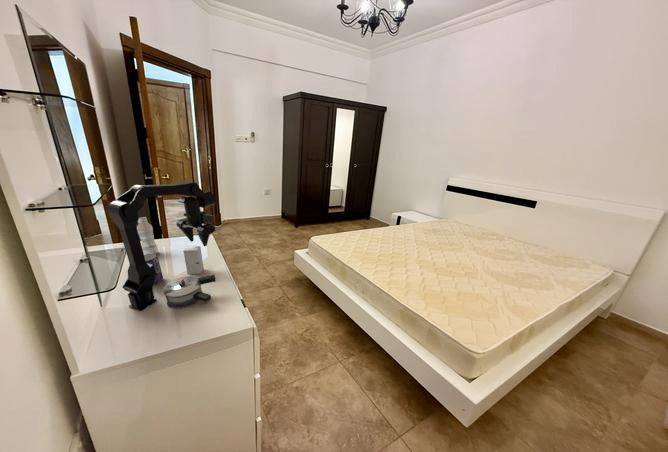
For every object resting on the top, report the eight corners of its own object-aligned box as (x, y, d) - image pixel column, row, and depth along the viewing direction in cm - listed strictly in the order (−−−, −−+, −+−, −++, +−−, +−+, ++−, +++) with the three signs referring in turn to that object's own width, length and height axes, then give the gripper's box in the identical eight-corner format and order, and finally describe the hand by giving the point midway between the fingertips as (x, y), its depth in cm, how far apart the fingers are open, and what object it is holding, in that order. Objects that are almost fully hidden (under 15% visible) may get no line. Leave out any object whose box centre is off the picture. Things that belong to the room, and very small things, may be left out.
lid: (216, 289, 97) (215, 284, 97) (161, 301, 90) (160, 296, 89) (214, 272, 108) (213, 268, 107) (165, 282, 100) (164, 277, 99)
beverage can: (161, 275, 114) (155, 251, 110) (165, 282, 110) (159, 257, 105) (142, 281, 110) (135, 256, 105) (145, 288, 105) (138, 263, 100)
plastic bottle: (153, 257, 128) (144, 220, 121) (140, 257, 128) (130, 220, 121) (162, 251, 134) (153, 216, 127) (149, 251, 134) (140, 215, 127)
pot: (197, 316, 91) (194, 305, 89) (159, 304, 96) (156, 293, 94) (221, 296, 102) (220, 285, 100) (186, 286, 107) (184, 276, 105)
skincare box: (187, 274, 116) (182, 250, 111) (190, 269, 120) (186, 246, 115) (201, 273, 116) (196, 250, 112) (204, 268, 121) (200, 245, 116)
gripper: (223, 209, 111) (227, 242, 117) (196, 202, 119) (201, 233, 125) (200, 216, 102) (206, 251, 107) (172, 208, 110) (179, 241, 115)
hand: (198, 243), depth 114 cm, fingers open, 9 cm apart
